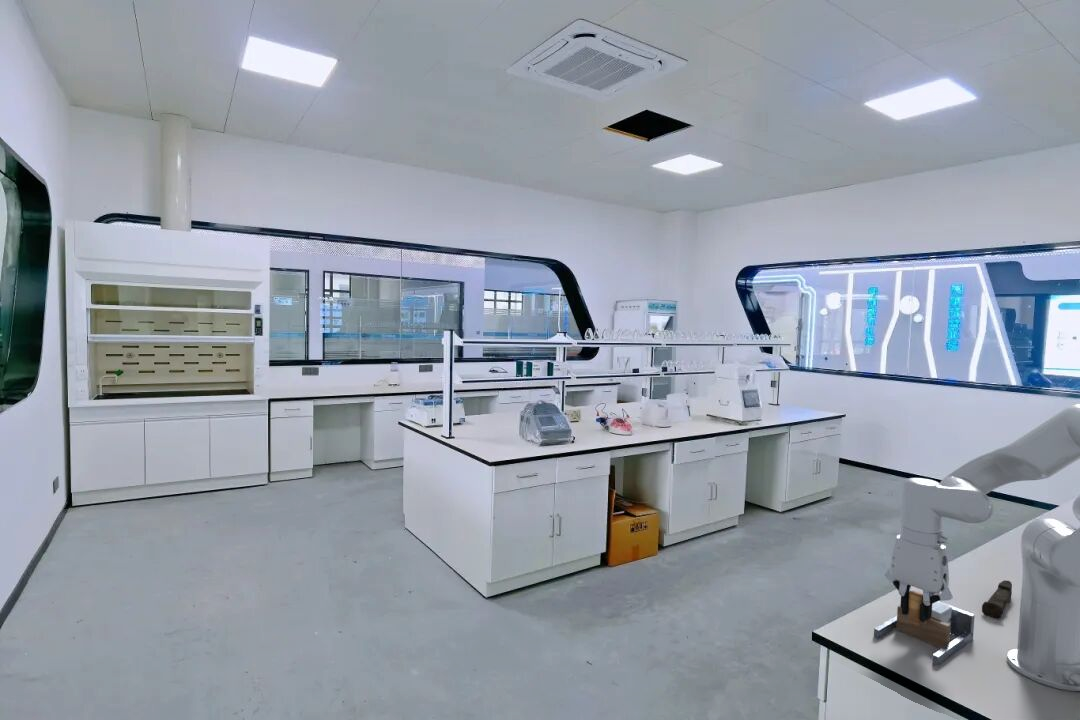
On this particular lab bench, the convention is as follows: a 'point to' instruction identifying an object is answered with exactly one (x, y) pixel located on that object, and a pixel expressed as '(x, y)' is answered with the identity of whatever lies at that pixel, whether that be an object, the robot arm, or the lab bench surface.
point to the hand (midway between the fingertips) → (915, 615)
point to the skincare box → (942, 612)
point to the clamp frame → (959, 627)
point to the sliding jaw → (922, 623)
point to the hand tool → (998, 600)
